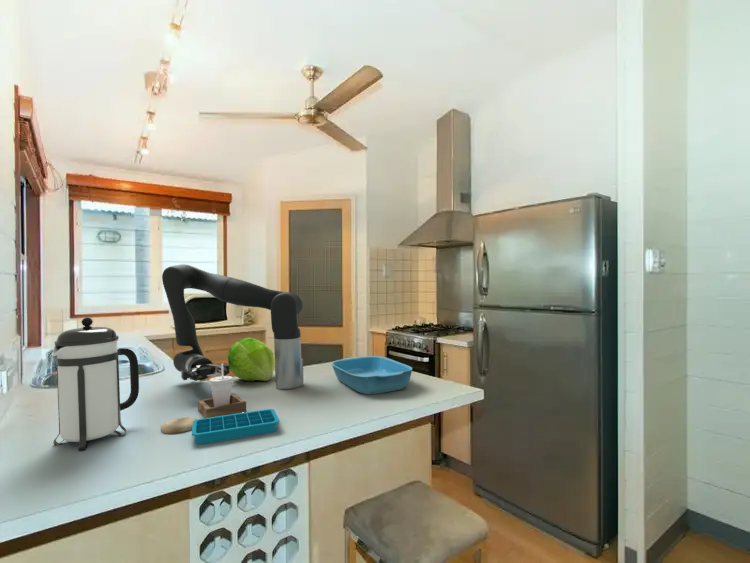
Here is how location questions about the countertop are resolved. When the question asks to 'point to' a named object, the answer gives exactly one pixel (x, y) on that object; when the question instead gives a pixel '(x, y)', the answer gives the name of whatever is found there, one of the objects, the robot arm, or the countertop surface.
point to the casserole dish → (372, 374)
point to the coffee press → (91, 383)
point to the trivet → (178, 425)
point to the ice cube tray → (234, 426)
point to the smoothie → (221, 389)
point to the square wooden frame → (221, 407)
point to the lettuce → (251, 360)
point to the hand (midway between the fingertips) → (211, 375)
